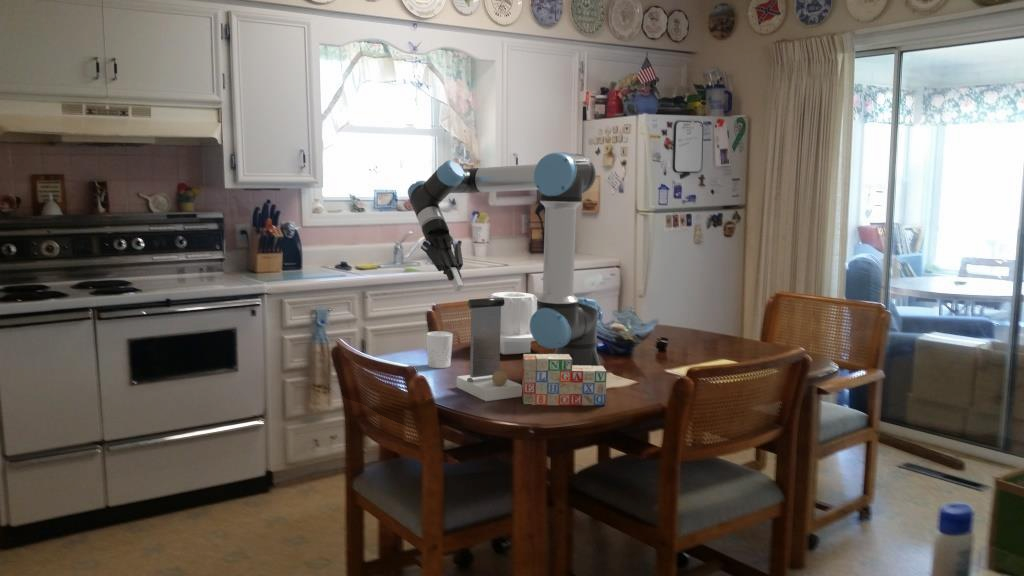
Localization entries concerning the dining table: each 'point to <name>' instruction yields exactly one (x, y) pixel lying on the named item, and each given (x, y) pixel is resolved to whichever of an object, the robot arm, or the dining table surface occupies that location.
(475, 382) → the white slotted base
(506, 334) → the ribbed cylinder on disc
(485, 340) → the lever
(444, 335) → the white cup
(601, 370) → the stack of blocks
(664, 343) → the dining table surface
